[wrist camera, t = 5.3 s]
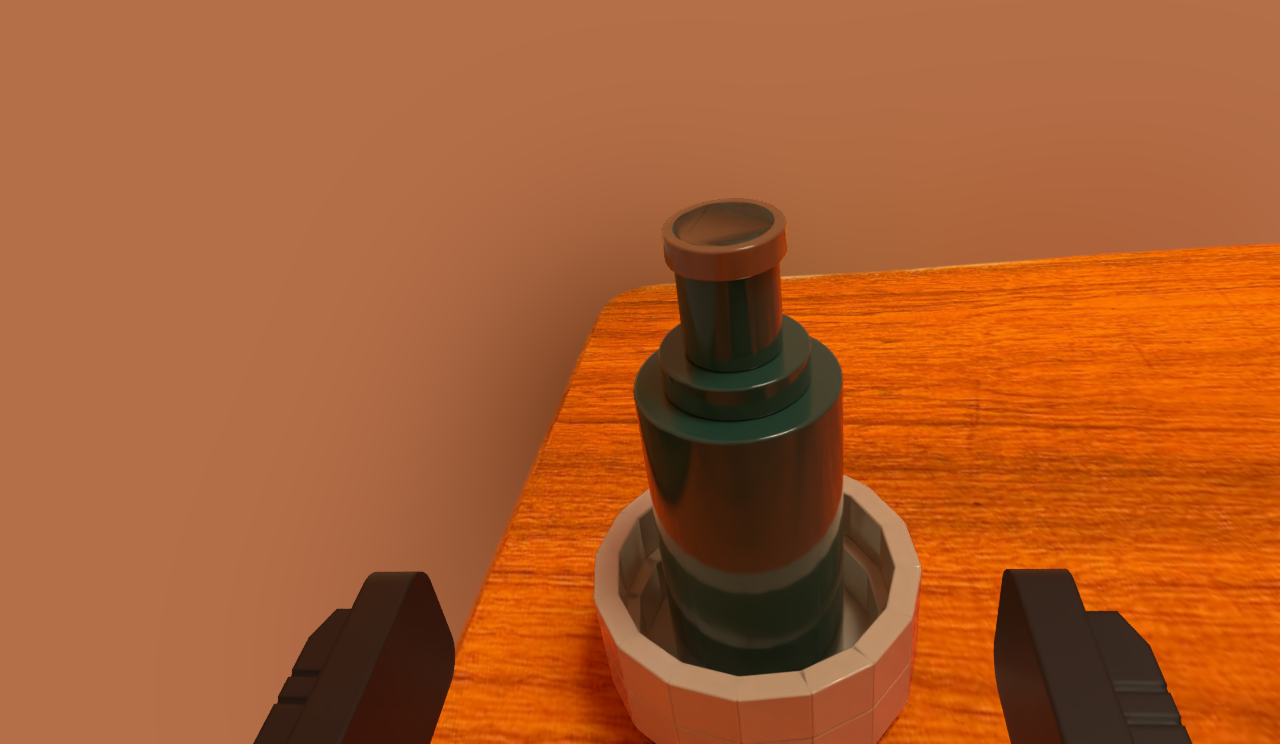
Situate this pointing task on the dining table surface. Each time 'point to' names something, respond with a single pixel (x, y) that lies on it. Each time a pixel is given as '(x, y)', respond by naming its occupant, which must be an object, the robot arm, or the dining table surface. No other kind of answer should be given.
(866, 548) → the bowl
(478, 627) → the dining table surface
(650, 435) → the bottle
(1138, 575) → the dining table surface
